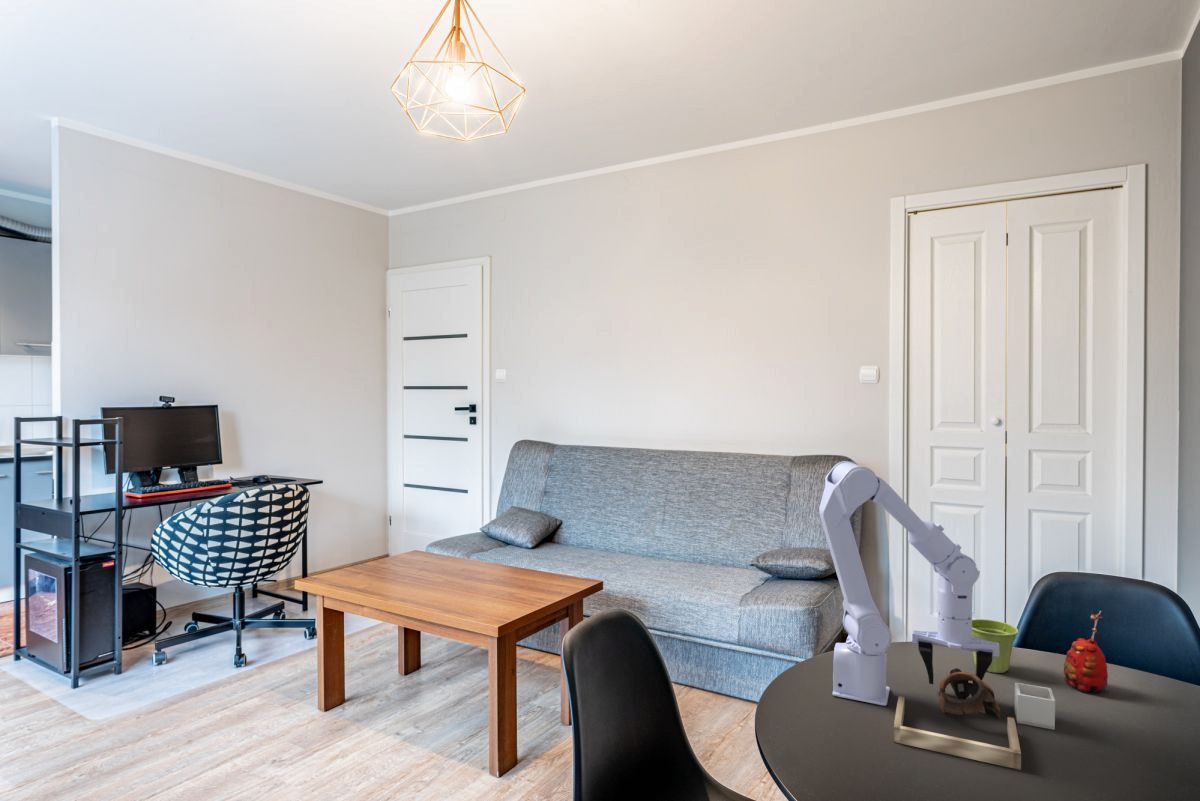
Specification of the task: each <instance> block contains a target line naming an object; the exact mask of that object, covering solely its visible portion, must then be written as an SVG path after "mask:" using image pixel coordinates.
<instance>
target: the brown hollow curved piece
mask: <svg viewBox="0 0 1200 801" xmlns="http://www.w3.org/2000/svg"><path fill="white" fill-rule="evenodd" d="M948 685H950V687H951V688H952V690H953V694H954V695H955V698H954V697H951V696H950V695H948V694H947V693H946V688H947V686H948ZM939 690H940V692H939V696H940V698H939V707H940V710H941V712H942V713H943V714H944V715H945V714H946V713H950V714H955V715H959V716H960V715H961V716H964V715H971V714H975V713H981V714H986V709H985V708H988V709H991V710H993V712H994V713H995V715H996V716H997V718H998V719H1001V709H1000V706H999V704H998V703H997V701H996V699H995V697H996V696H995V692H994V690H993V689H992V687H991V686H990V685H989V684H987V683H986V682H985V681H983V680H980V678H978V677H977V676H976V674H974V673H971V672H968V671H963V670H961V669H960V668H956V667H955V668H954V669H951V670H950V671H949V674H948V675H947V676H945V677H944V678H943V679H942V680H941V682H940V684H939ZM970 695H971V696H970ZM969 696H970V697H969Z"/></svg>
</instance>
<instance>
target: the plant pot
mask: <svg viewBox="0 0 1200 801" xmlns="http://www.w3.org/2000/svg"><path fill="white" fill-rule="evenodd" d="M1018 633H1019V629H1018V628H1017V627H1016V626H1014V625H1012V624H1009V623H1007V622H1003V621H998V620H993V619H984V618H972V637H974V638H978V639H982V640H986V641H990V642H996V643H999V657H998V656H993V655H992V663H991V665H990V666H989V668H988V669H987V671H986V672H988V673H996V674H1002V673H1006V672H1007V671H1009V667H1010V662H1011V656H1012V652H1013V646H1014V641H1015V639H1016V636H1017V634H1018ZM972 654H973V660H974V665H975V666H976V652H974V651H972Z"/></svg>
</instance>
